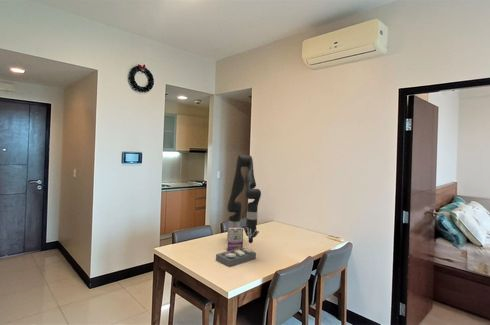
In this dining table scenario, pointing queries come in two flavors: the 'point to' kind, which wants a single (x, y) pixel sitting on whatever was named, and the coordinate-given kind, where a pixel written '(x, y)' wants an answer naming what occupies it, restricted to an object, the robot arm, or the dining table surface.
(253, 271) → the dining table surface
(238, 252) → the rocker
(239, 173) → the robot arm
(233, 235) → the candy bar box
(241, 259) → the grey control panel
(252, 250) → the rocker
